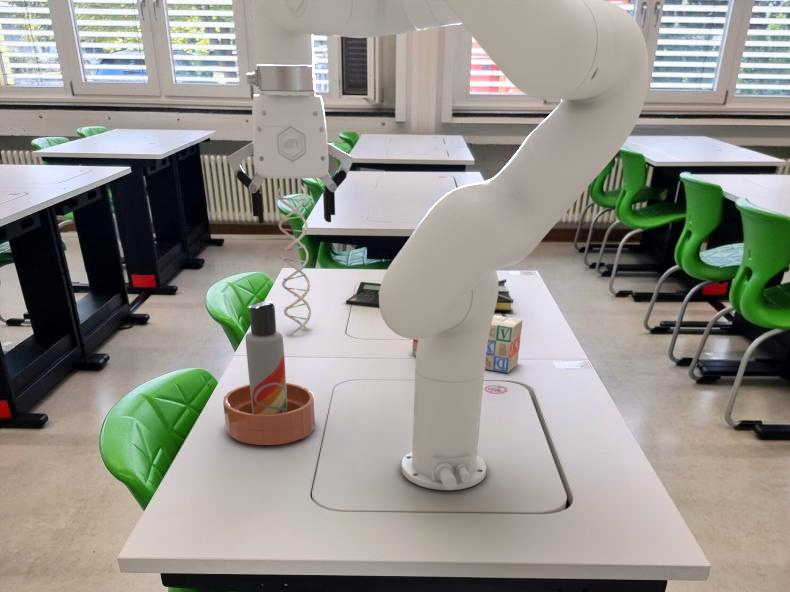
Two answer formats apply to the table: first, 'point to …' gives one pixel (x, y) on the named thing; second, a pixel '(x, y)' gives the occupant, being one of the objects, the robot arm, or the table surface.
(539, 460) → the table surface
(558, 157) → the robot arm
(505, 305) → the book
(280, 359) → the lotion bottle
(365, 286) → the calculator
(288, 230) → the dna model
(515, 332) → the stack of blocks
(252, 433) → the bowl
